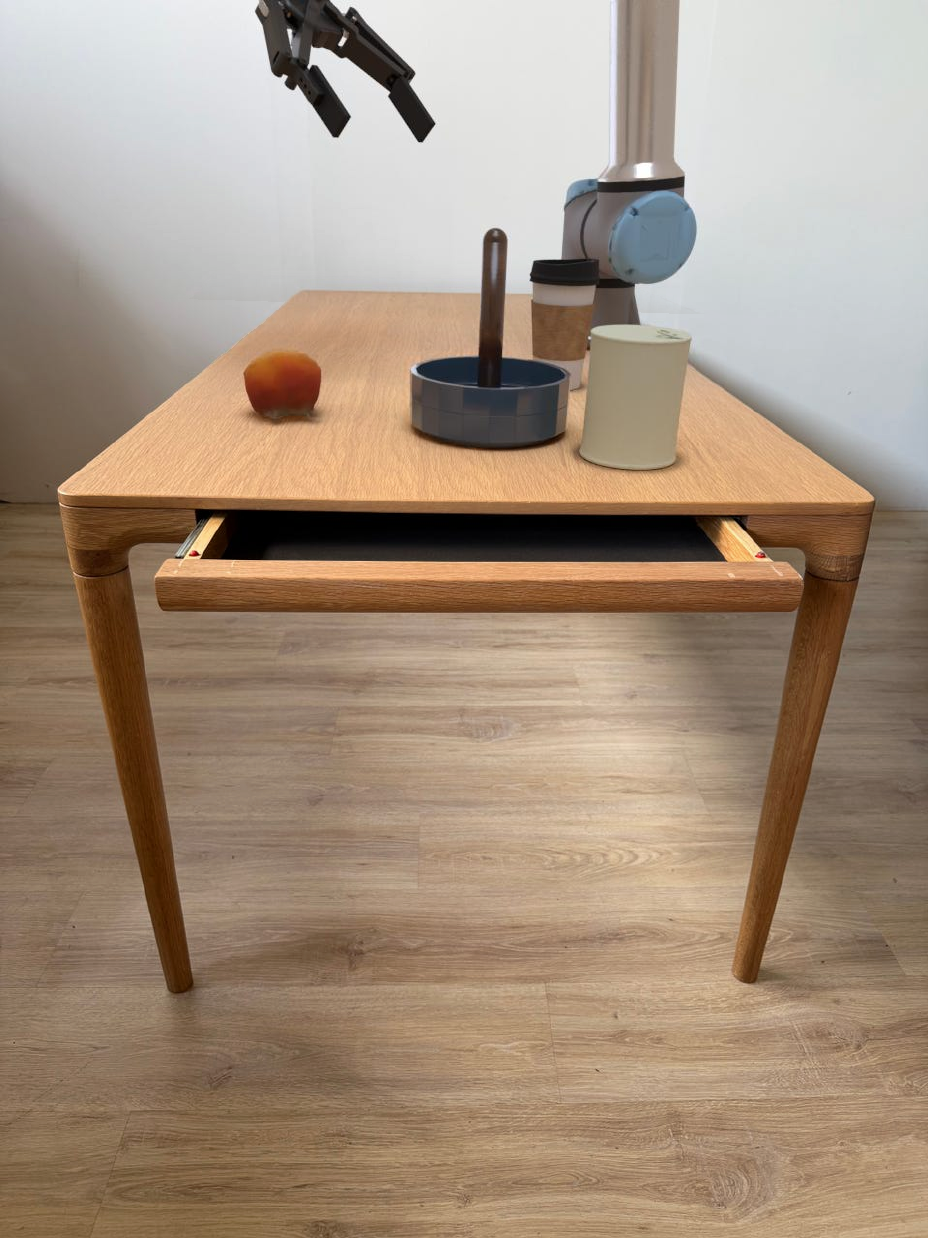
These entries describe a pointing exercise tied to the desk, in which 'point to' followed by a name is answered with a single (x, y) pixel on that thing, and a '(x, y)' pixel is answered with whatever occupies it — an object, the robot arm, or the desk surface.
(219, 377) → the desk surface
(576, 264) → the coffee cup
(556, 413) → the bowl
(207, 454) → the desk surface
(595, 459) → the can
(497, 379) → the stick
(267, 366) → the fruit
